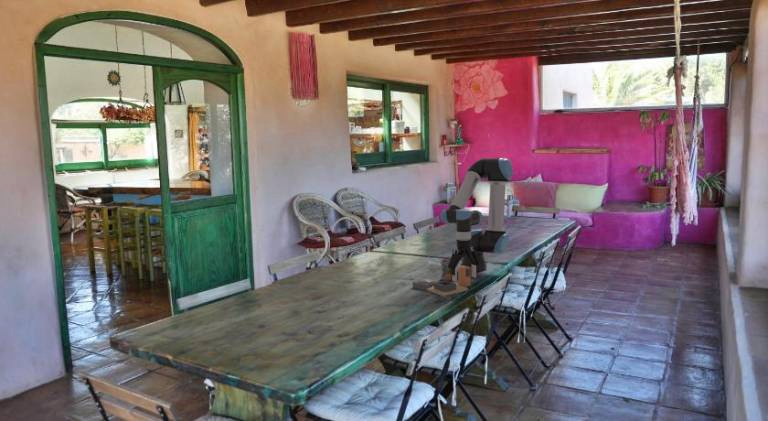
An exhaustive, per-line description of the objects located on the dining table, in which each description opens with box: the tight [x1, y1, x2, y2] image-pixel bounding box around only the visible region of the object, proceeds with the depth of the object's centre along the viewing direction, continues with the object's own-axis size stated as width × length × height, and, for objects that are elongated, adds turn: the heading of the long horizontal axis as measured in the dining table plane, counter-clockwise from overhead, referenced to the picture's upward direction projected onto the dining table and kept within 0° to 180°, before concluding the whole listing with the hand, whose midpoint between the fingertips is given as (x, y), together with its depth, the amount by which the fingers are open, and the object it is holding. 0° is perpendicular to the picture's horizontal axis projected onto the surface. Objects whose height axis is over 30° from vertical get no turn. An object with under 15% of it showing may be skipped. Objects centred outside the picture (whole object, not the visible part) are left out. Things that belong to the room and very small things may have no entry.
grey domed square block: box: [411, 277, 440, 292], centre depth 300 cm, size 10×10×4 cm
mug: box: [439, 258, 453, 282], centre depth 314 cm, size 12×9×11 cm
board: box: [427, 280, 469, 297], centre depth 293 cm, size 16×16×4 cm
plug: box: [457, 265, 472, 288], centre depth 299 cm, size 4×6×10 cm
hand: (464, 279), depth 300 cm, fingers open, 13 cm apart
